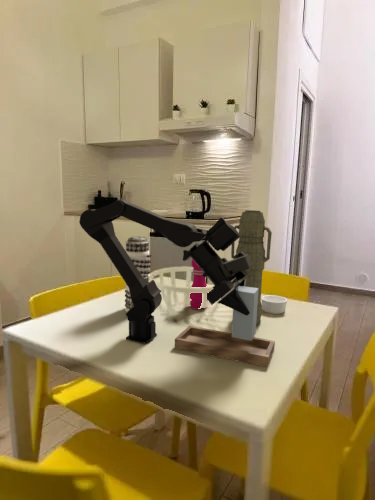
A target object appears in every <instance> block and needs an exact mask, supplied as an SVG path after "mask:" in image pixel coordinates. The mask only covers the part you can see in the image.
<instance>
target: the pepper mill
mask: <svg viewBox="0 0 375 500" xmlns="http://www.w3.org/2000/svg"><path fill="white" fill-rule="evenodd" d="M191 267H192V268H193V269H192V275H193V281H192V284H191V286H190V288H191V287H206V286H207V287H208V285H207V282H206V277H205V278H204V277H203V275H202V274H203V273H204V272H203V271H202V270H201V269H200V267H199V266H198V265H197V264H196V263H195V261H194V260H193V259H192V258H191ZM189 299H190V301H189V306H190V305H191V307H192V308H191V307H190V308H191V309H193V308H195V309H194V310H199V309H198V308H200V306H201V303H202V293H191V294H190V297H189Z"/></svg>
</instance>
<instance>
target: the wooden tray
mask: <svg viewBox="0 0 375 500" xmlns="http://www.w3.org/2000/svg"><path fill="white" fill-rule="evenodd" d="M275 345H276V340H272V339H267V338H261V337H255V336H254V337H253V339H252V341H250V340H245V339H239V338H234V337H232V332H227V331H222V330H218V329H216V330H215V329H211V328H205V327H200V326H199V327H198V326H193V325H188V326H187V327H186V328H185V329H183V330H182V332H180V333H179V335H178V336H176V337H175V338H174V349H179V350H183V351H188V352H192V353H198V354H202V355H203V354H204V355H207V356H213V357H217V358H222V359H227V360H231V361H232V360H233V361H236V362H242V363H247V364H251V365H256V366H260V367H265V368H268V367H269V365H270V363H271V360H272V357H273V354H274V352H275V347H276V346H275Z"/></svg>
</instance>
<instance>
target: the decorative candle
mask: <svg viewBox="0 0 375 500" xmlns="http://www.w3.org/2000/svg"><path fill="white" fill-rule="evenodd" d="M149 249H150V241H149V240H148V238H147V237H145V236H139V235H137V236H135V235H134V236H130V237H128V238H127V240H126V241H125V251H126V252H127V254H128V255H129V257H130V258H131V260H132V262H133V263H134V265H135V266H136V268H137V269H138V271H139V272H140V274H141V275H142V277H143V278H144V279H145V280H147V281H148V282H150V281H149V278H150V277H151V274H150V273H151V271H150V270H149V268H151V267H152V265H150V264H151V263H152V261H151V260H150V259H149V258H151V257H152V255H151V254H150V250H149ZM124 293H125V294H124V297H125V299H124V303H125V304H124V306H125V308H124V310H125V312H126V313H127V312H128V311H129V310H130V309H131V308H132V307H133V306H134V305H133V303H132V300H131V297H130V291H129V287H128V286H127V284H126V283H125V290H124Z"/></svg>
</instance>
